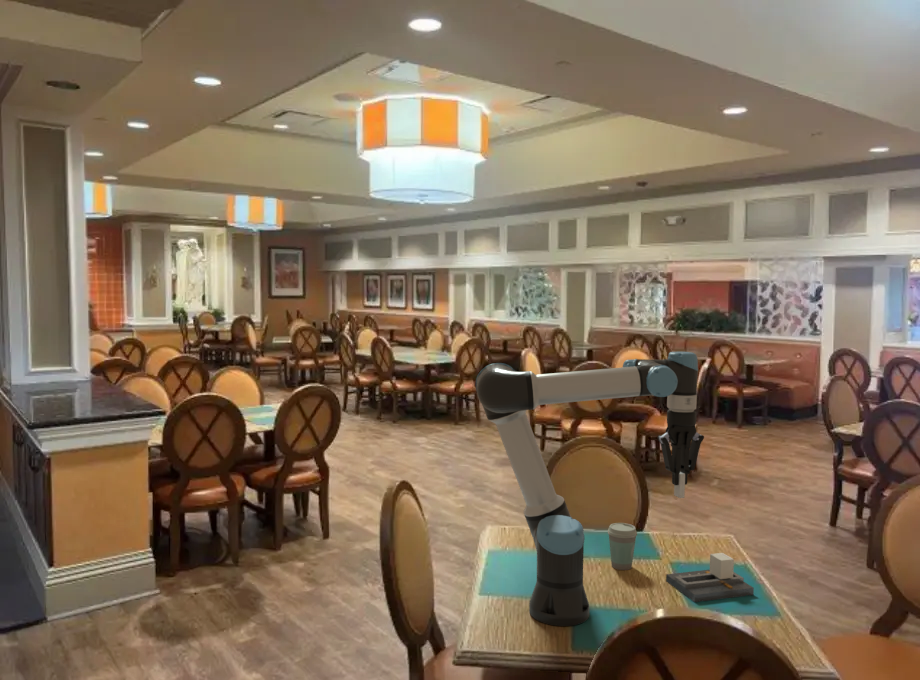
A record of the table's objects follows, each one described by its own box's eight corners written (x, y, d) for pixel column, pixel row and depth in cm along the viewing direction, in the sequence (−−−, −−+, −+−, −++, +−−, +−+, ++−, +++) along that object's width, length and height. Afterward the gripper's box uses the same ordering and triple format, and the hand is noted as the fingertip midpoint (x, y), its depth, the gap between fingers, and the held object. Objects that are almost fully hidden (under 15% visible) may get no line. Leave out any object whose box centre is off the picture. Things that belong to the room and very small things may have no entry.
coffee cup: (636, 573, 209) (637, 532, 209) (606, 570, 211) (607, 530, 210) (635, 562, 218) (636, 523, 217) (606, 560, 220) (607, 521, 219)
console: (694, 602, 190) (694, 591, 190) (666, 581, 204) (666, 570, 204) (753, 594, 195) (753, 584, 195) (721, 574, 208) (722, 564, 208)
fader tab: (720, 583, 197) (721, 560, 197) (709, 576, 202) (710, 554, 202) (733, 582, 198) (733, 559, 198) (721, 575, 203) (722, 552, 203)
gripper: (667, 413, 188) (665, 502, 190) (711, 411, 191) (708, 498, 193) (652, 408, 195) (650, 494, 197) (695, 406, 198) (692, 491, 200)
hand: (679, 496), depth 195 cm, fingers closed
